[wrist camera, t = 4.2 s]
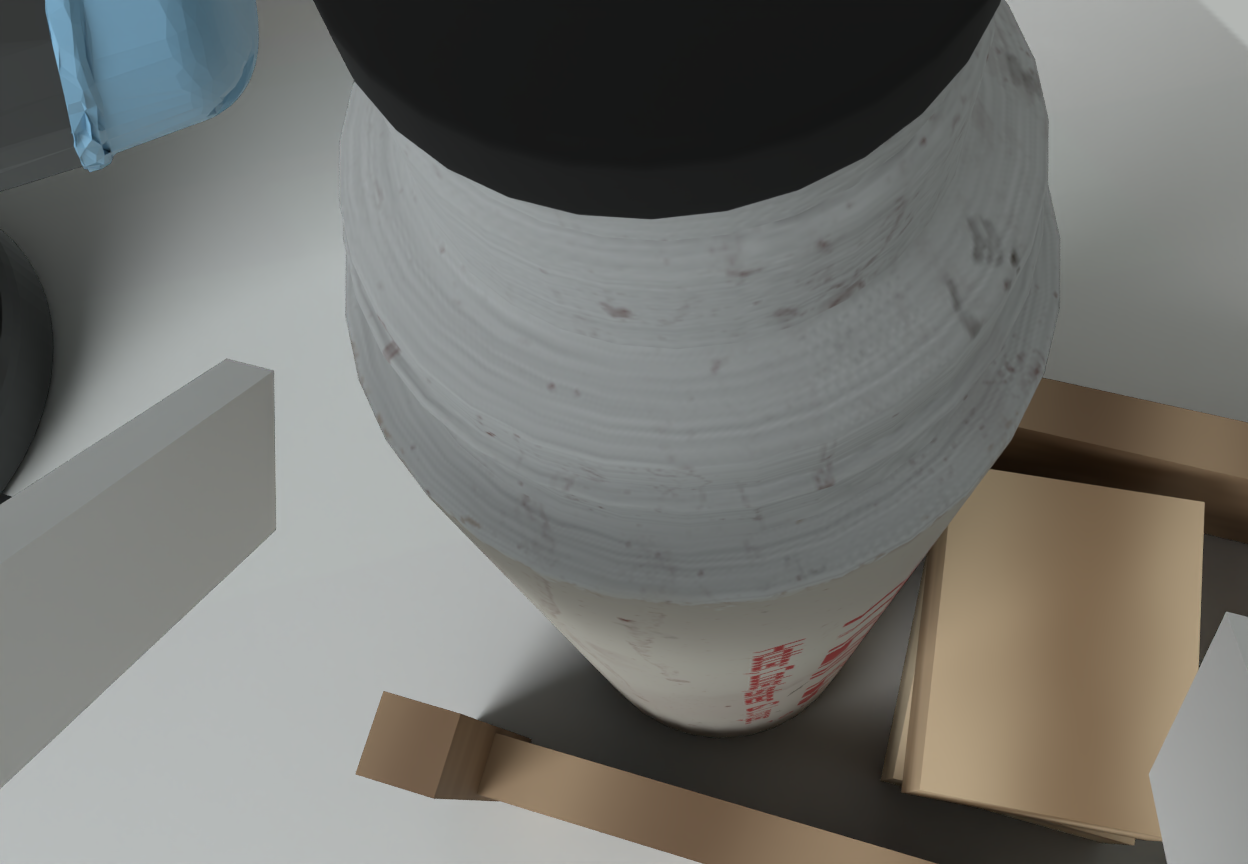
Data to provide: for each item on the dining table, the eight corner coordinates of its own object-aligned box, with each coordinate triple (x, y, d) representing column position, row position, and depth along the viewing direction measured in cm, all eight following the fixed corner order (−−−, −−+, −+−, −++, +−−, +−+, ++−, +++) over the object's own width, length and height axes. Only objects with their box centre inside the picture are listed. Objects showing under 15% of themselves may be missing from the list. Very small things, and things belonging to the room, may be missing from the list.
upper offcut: (901, 792, 29) (919, 790, 26) (934, 495, 31) (954, 463, 28) (1145, 840, 28) (1192, 843, 25) (1160, 531, 30) (1204, 501, 28)
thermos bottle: (910, 639, 33) (1657, -89, 6) (680, 794, 32) (412, 713, 5) (754, 423, 35) (812, -748, 9) (537, 562, 34) (-120, -261, 8)
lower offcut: (878, 781, 32) (893, 777, 29) (932, 514, 34) (951, 488, 31) (1097, 842, 31) (1134, 845, 28) (1138, 564, 33) (1175, 540, 30)
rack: (454, 784, 33) (355, 774, 24) (593, 339, 37) (550, 197, 28) (1515, 1109, 28) (1860, 1240, 19) (1540, 556, 32) (1835, 463, 23)
